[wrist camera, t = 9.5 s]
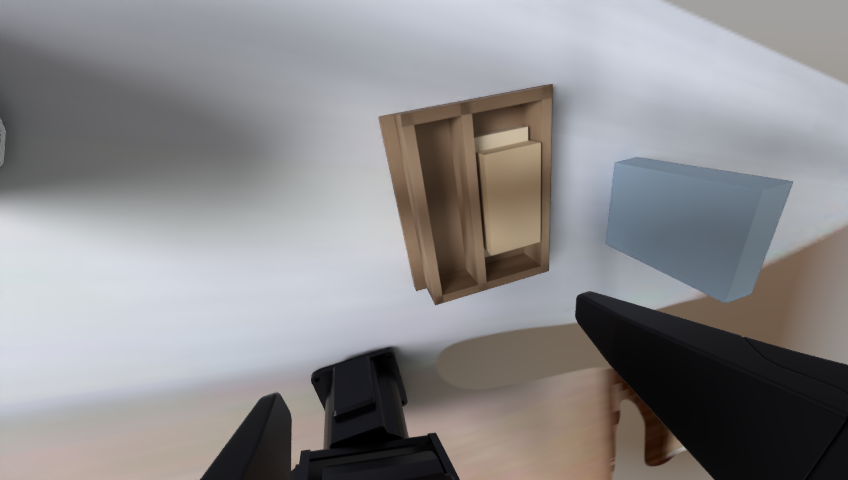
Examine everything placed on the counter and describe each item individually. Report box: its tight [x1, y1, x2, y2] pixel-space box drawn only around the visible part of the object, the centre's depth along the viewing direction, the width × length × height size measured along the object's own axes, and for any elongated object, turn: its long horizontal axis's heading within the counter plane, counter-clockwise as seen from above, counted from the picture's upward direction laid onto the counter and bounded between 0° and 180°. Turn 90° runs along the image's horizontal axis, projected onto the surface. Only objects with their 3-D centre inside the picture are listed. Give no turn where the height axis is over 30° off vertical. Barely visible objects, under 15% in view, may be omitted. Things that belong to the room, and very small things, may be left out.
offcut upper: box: [475, 141, 541, 255], centre depth 19 cm, size 6×4×1 cm, turn 9°
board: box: [606, 157, 793, 303], centre depth 21 cm, size 7×2×9 cm, turn 9°
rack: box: [378, 84, 553, 305], centre depth 20 cm, size 12×11×3 cm
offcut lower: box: [474, 126, 528, 258], centre depth 20 cm, size 8×4×1 cm, turn 9°
